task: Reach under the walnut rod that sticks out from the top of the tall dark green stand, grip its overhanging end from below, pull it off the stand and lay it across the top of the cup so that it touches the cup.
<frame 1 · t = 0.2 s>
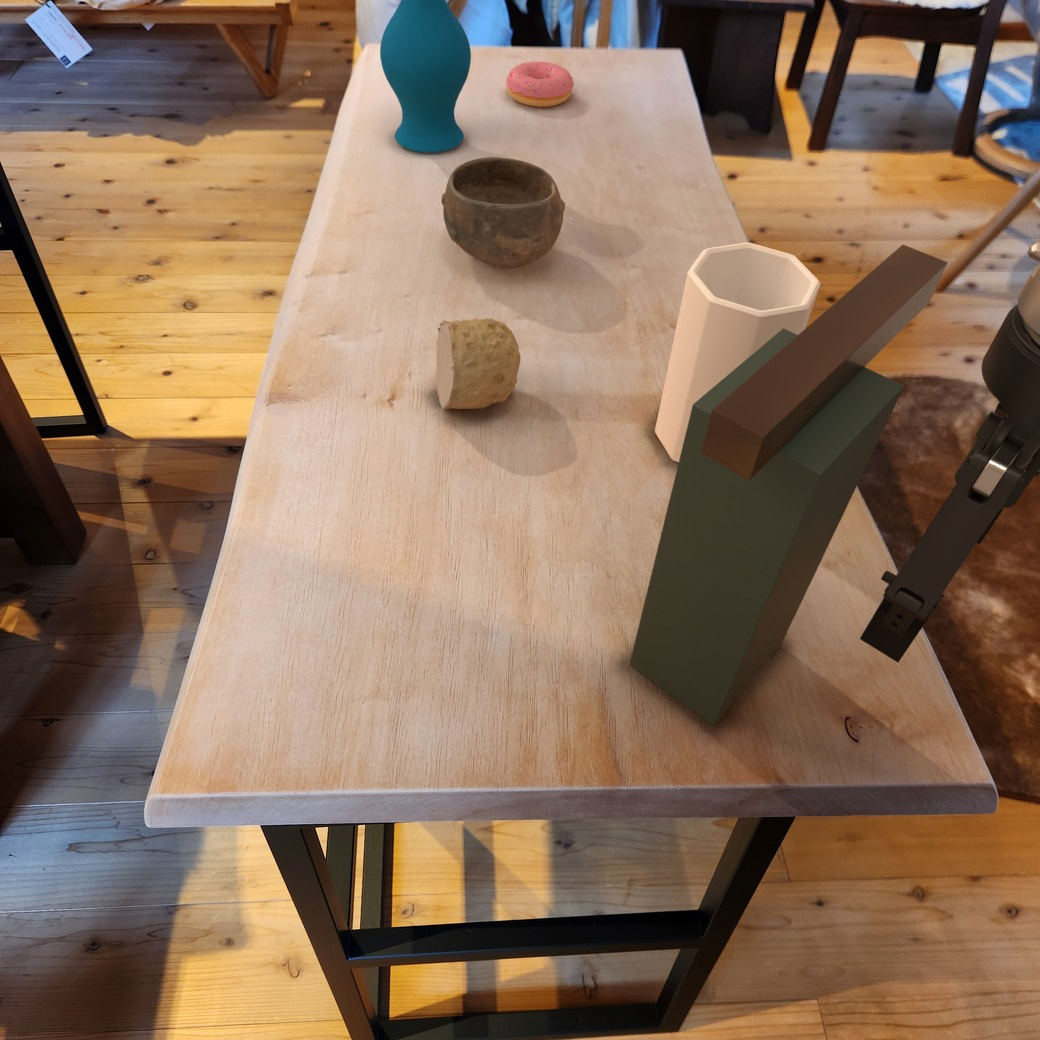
hand: (924, 586, 59), 12 cm above the table, tool pointing down, fingers open, 13 cm apart
cut tuber: (476, 400, 88), on the table
cup: (709, 438, 86), on the table
doughnut: (539, 97, 139), on the table
rod: (826, 370, 50), point 27 cm above the table, touching stand
vase: (429, 141, 127), on the table
stand: (705, 654, 68), on the table
bowl: (499, 256, 107), on the table
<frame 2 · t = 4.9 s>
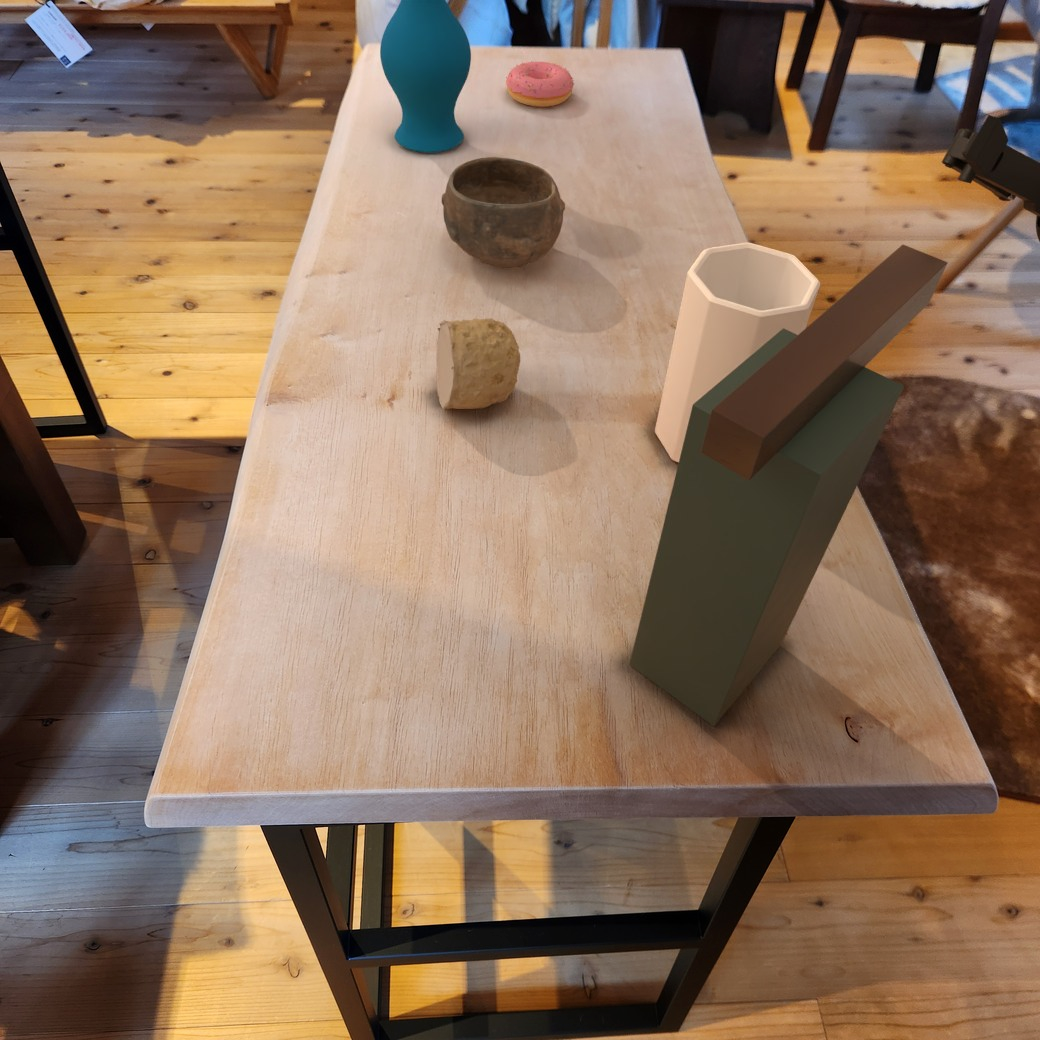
nothing on the table moved.
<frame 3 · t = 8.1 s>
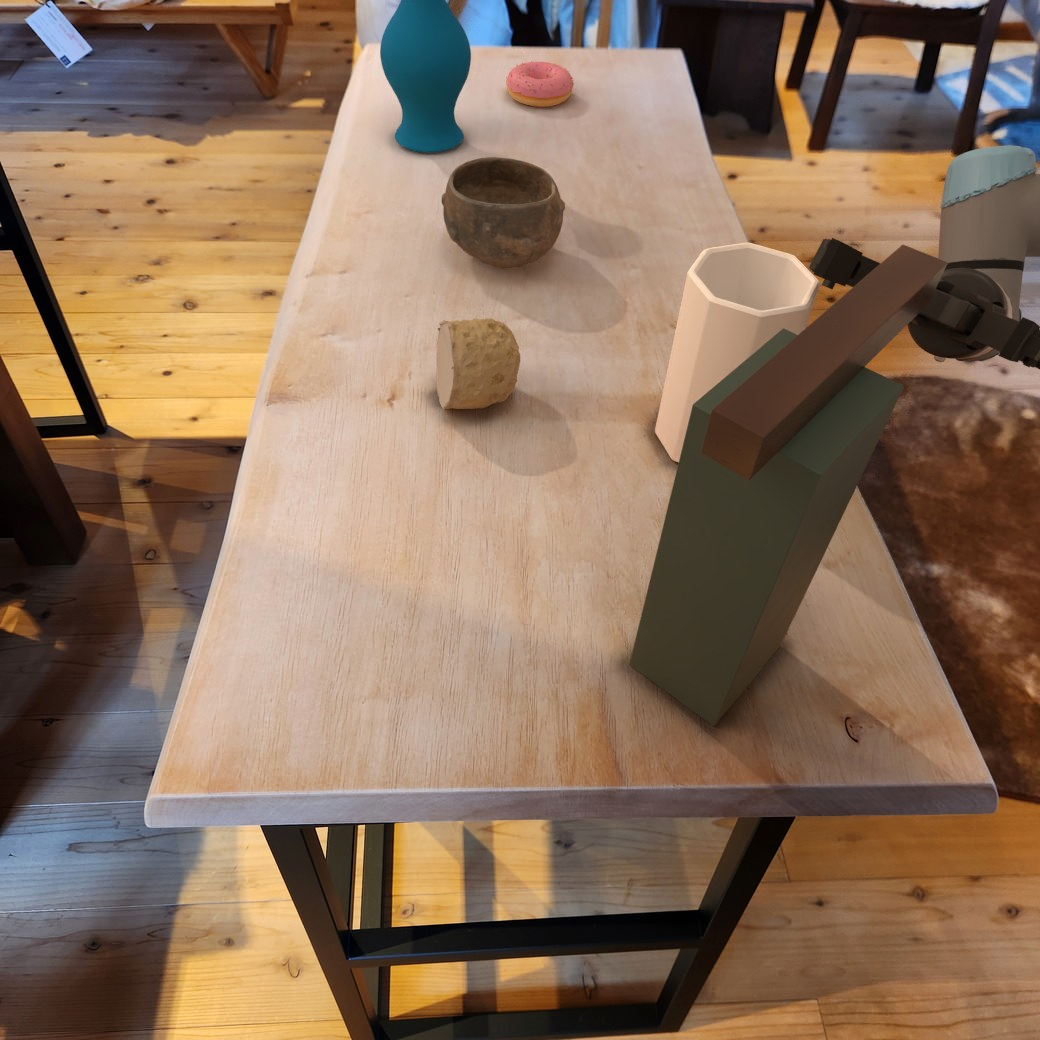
hand: (916, 296, 58), 26 cm above the table, tool pointing upward, fingers open, 13 cm apart
nothing on the table moved.
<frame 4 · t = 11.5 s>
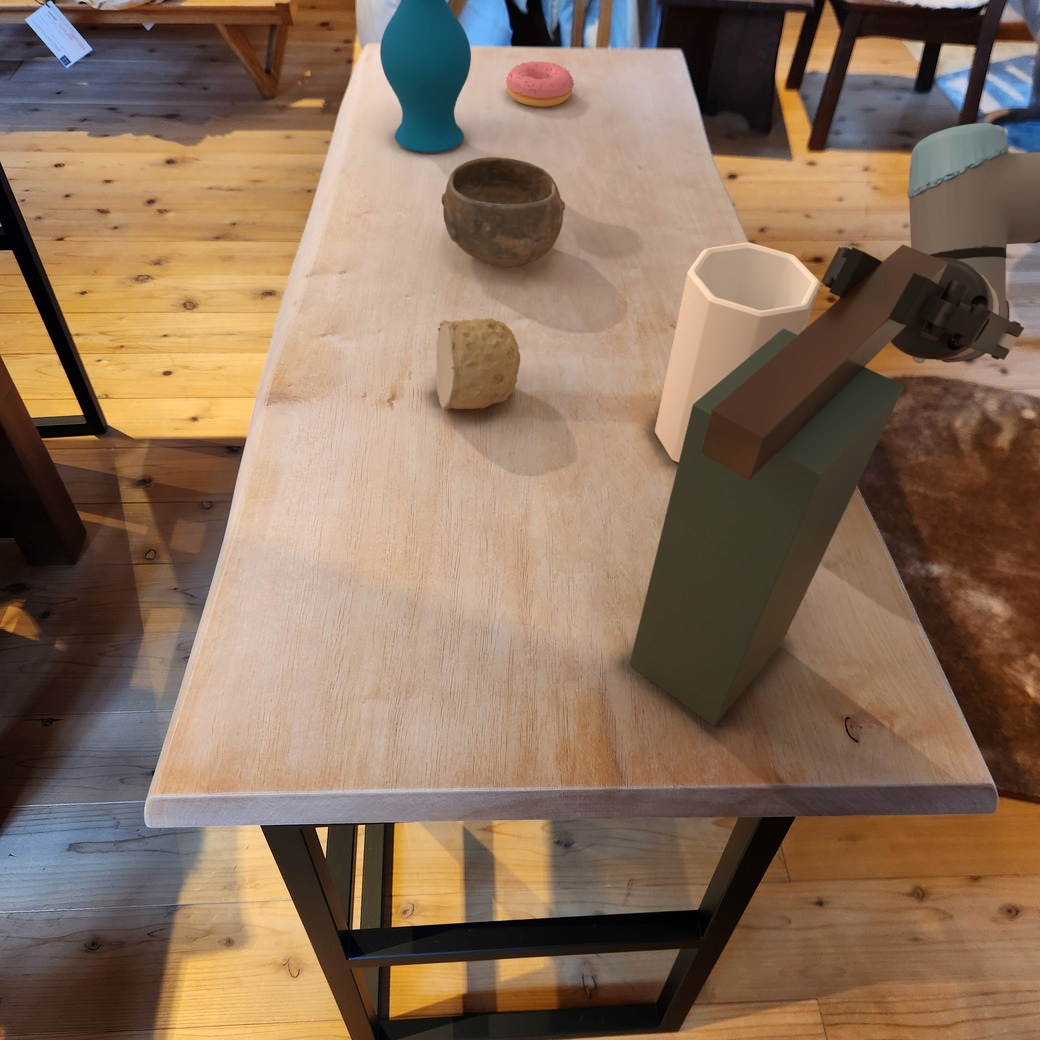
hand: (876, 285, 48), 31 cm above the table, tool pointing upward, fingers closed on rod, 3 cm apart
rod: (826, 370, 50), point 27 cm above the table, touching gripper, stand
everything else where it was.
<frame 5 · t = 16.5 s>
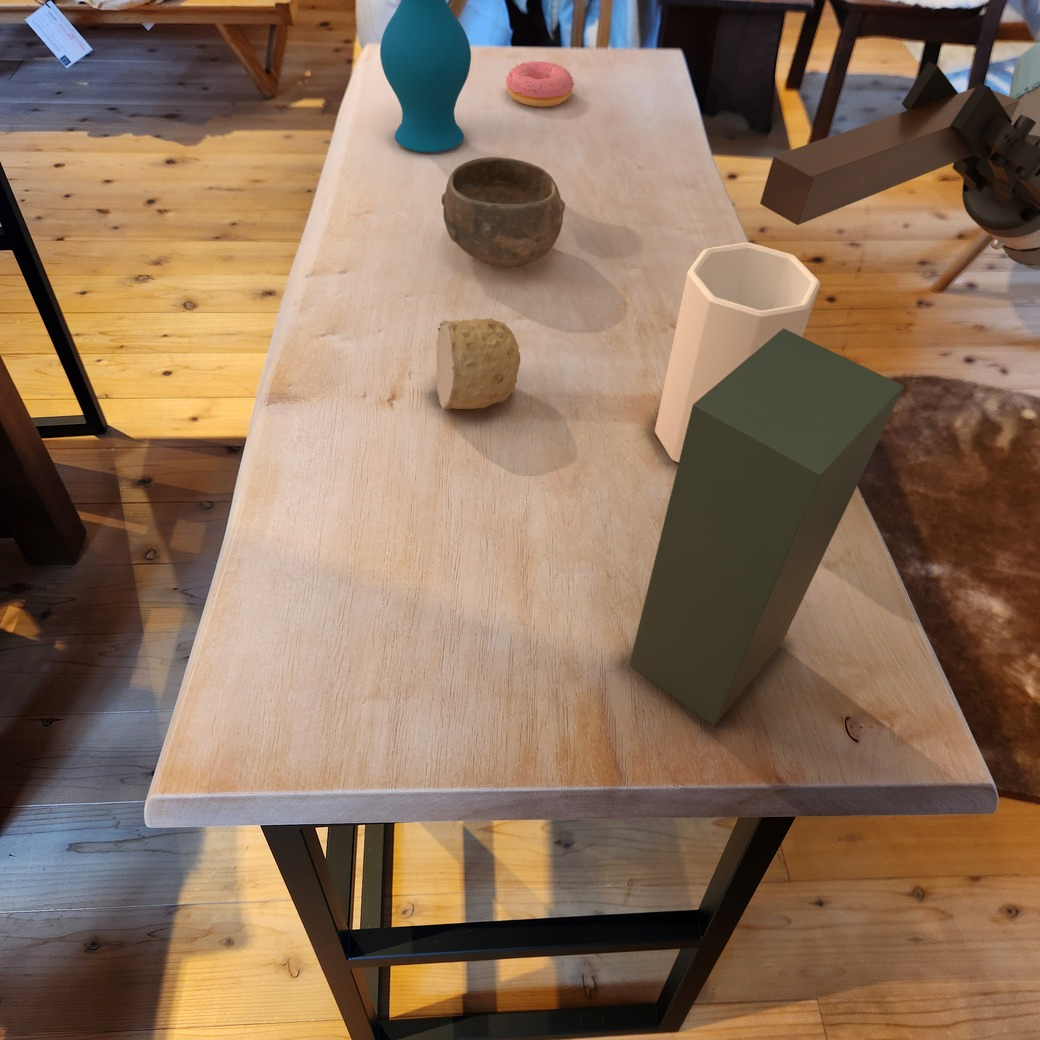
hand: (944, 95, 54), 36 cm above the table, tool pointing upward, fingers closed on rod, 3 cm apart
rod: (888, 172, 56), point 32 cm above the table, touching gripper
everything else where it was.
when the fingers open (23 cm above the table, at t = 21.5 s): rod stays where it is, resting on cup.
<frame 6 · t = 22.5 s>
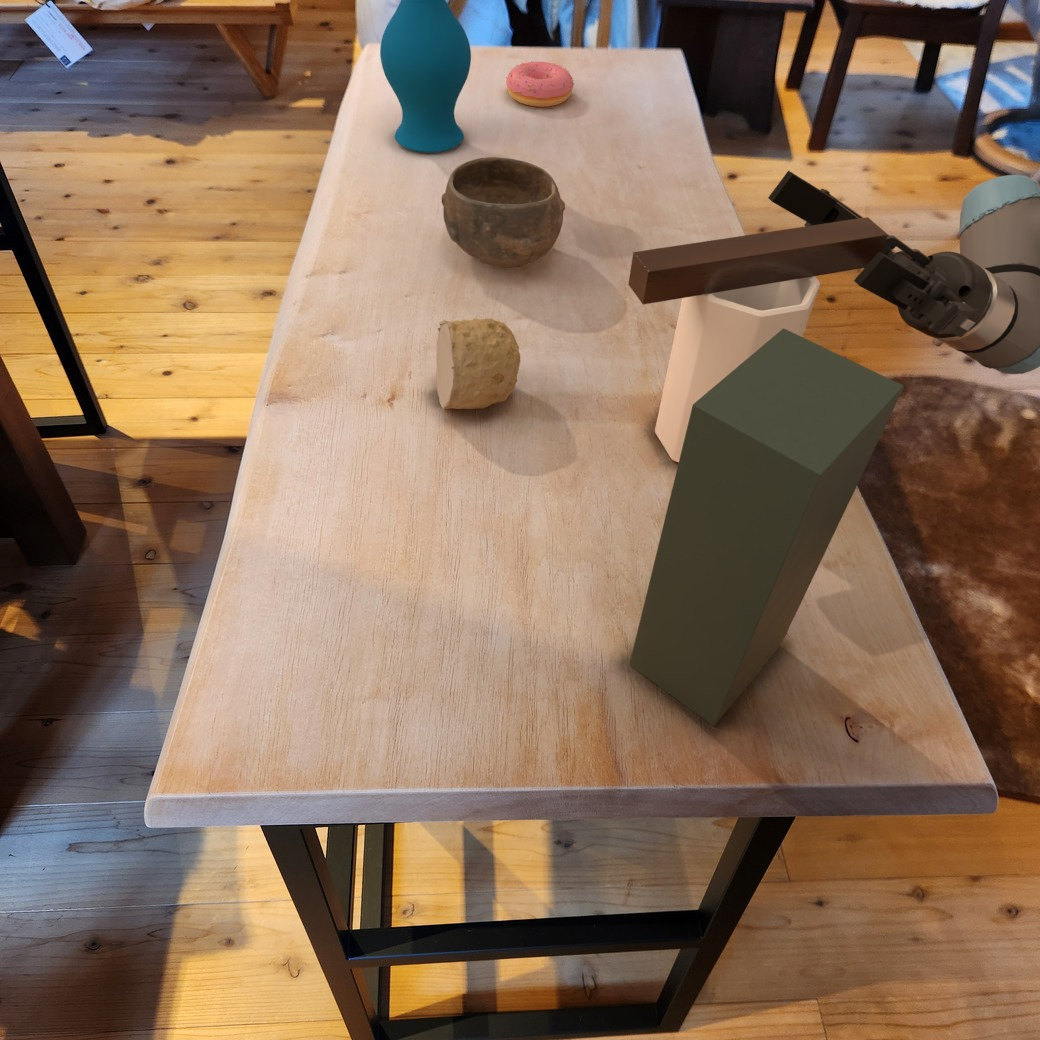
hand: (821, 224, 70), 22 cm above the table, tool pointing upward, fingers open, 13 cm apart
cup: (709, 438, 86), on the table, touching rod
rod: (754, 275, 72), point 19 cm above the table, touching cup
everything else where it was.
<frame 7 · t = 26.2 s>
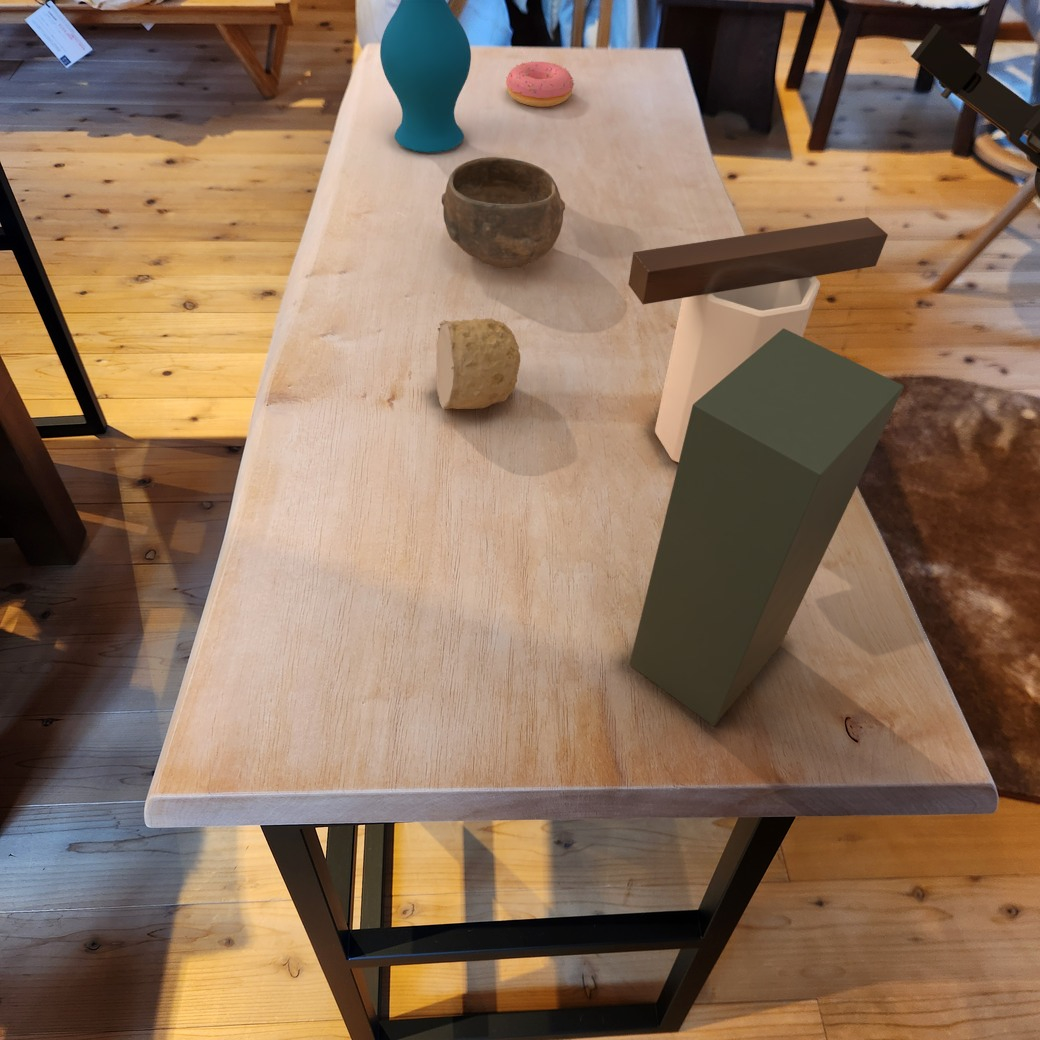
hand: (980, 74, 64), 33 cm above the table, tool pointing upward, fingers open, 13 cm apart
nothing on the table moved.
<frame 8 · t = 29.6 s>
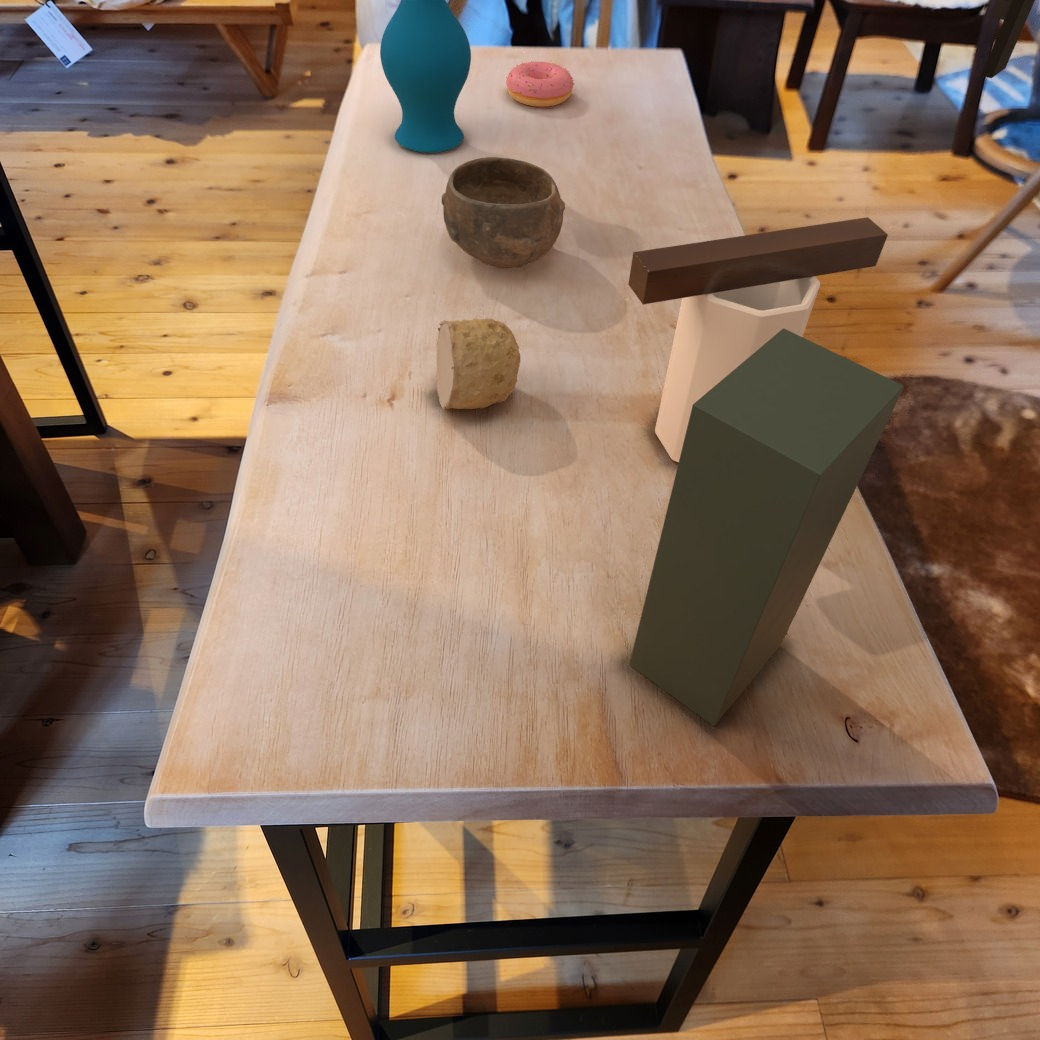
nothing on the table moved.
at the end: rod touching cup; rod point 18.5 cm above the table; the gripper is holding nothing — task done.
